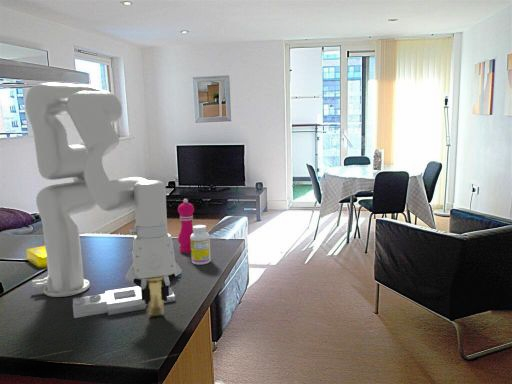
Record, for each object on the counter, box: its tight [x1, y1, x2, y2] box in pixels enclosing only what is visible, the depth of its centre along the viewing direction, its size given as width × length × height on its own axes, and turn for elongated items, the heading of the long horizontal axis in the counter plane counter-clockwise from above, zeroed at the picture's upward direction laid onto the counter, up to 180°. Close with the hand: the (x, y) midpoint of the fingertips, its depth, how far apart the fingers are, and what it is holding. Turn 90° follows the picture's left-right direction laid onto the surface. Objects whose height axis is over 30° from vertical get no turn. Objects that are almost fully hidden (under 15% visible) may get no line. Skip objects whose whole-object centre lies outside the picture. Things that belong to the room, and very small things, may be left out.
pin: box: [146, 276, 165, 317], centre depth 114 cm, size 5×5×10 cm
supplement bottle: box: [190, 224, 211, 266], centre depth 157 cm, size 7×7×13 cm
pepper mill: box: [177, 198, 195, 254], centre depth 170 cm, size 7×7×20 cm
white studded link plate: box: [72, 285, 176, 319], centre depth 123 cm, size 26×10×4 cm, turn 111°
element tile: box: [26, 245, 48, 268], centre depth 165 cm, size 15×15×5 cm
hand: (155, 299), depth 115 cm, fingers closed on pin, 4 cm apart
